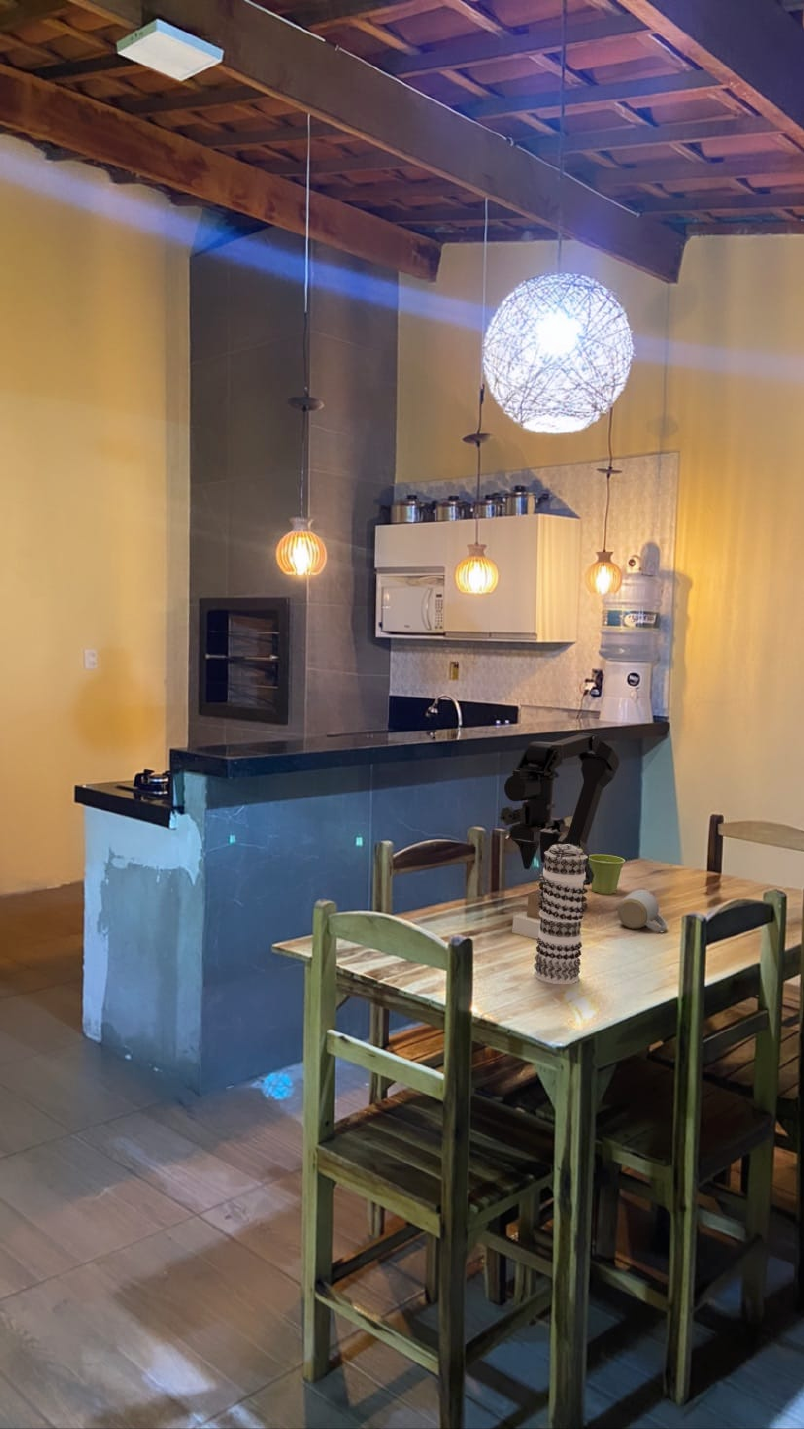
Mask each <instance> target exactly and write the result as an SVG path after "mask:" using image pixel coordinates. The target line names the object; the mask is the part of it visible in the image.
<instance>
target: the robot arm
mask: <svg viewBox="0 0 804 1429" xmlns="http://www.w3.org/2000/svg"><path fill="white" fill-rule="evenodd" d="M576 756H577V758H578V760H579V762H581V766H580V773H581V775H582V776H581V777H582V779H583V783H582V785H581V788H580V792H579V795H578V798H577V802H576V805H575V808H574V811H573V815H572V818H571V822H570V824H569V828H568V831H567V835H566V836H565V837H564V839H562V840H559V839H560V838H561V836H562V835H563V833H564V832H565V831H566V822H565V820H564V819H563V818H561V817H554V816H552V814H553V813H552V812H553V809H554V808H556V802H553V801H554V789H555V788H554V785H555V779H557V778H560V774H559V772H557V771H556V769H558V768H559V767H560V766H562V765H563V763H564V761H565V760H567V759H569V758H572V757H573V758H574V757H576ZM619 766H620V760H619V757H618V755H617V754H616V752H615V751H614V749H613V748H612V747H611V746H609V745H608V744H606V743H605V742H604V741H602V739H601V737H599V735H597V734H595V733H588V732H579V733H577V734H576V735H573V736H572V735H571V736H569V737H565V738H562V739H559V740H557V741H555V740H554V741H550V742H549V741H531V742H530V743H529V744H528V746H527V747H526V749H525V751H524V753H523V755H522V757H521V759H520V761H519V762H518V764H517V767H516V769H513V770H512V775H510V776H509V777H508V778H507V779H506V781H505V783H504V785H503V789H504V790H503V791H504V794H505V796H506V797H507V799H508V800H510V801H511V802H520V801H522V805H521V806H522V807H520V808H516V809H515V808H513V807H512V806H507V807H502V808H501V812H500V817H499V820H501V821H502V822H503V824H504V827H505V826H506V827H507V826H509V825H512V826H510V827H509V828H508V838H510V840H511V841H512V842H514V843H515V844H516V845H517V846H518V848H519V852H520V855H521V862H522V864H523V869H525V870H530V868H531V866H532V863H533V861H534V858H535V855H536V853H537V850H538V848H539V853H540V854H539V855H540V862H541V863H543V864H545V854H544V852H545V851H548V850H549V848H550V847H551V846H552V845H555V844H569V845H575V846H578V847H580V848H581V849H582V850H583V852H584V854H585V855H587V856H588V857H587V858H586V860H585V872H586V876H585V877H586V878H587V879H589V882H587V883H586V884H585V883H584V881H583V887H584V888H585V886H590V885H591V884H592V882H593V878H594V873H593V871H592V869H591V868H590V864H589V856H590V852H589V849H588V845H587V843H588V839H589V837H590V836H589V835H590V833H591V829H592V826H593V823H594V819H595V816H596V814H597V810H598V806H599V803H600V801H601V800H600V799H601V797H602V793H603V791H604V788H605V787H606V786H607V785H608V784H610V783H611V781H612V780H614V777H615V775H616V773H617V771H618V769H619ZM516 823H517V824H516ZM582 895H583V896H584V894H582ZM582 905H583V907H584V908H586V907H588V905H589V903H587V902H582Z"/></svg>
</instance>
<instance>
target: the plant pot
mask: <svg viewBox="0 0 804 1429" xmlns="http://www.w3.org/2000/svg"><path fill="white" fill-rule="evenodd" d="M625 863H626V860H625V859H624V858H622V857H619V856H615V855H609V854H591V855H590V854H589V861H588V864H589V866H590V868H591V869H592V871H593V873H594V878H593V882H592V883H591V891H592V892H594V893H596V892H597V893H598V894H601V895H612V894H616V893H617V888H618V884H619V880H620V875H621V873H622V872H621V871H622V868H623V866H624V864H625Z"/></svg>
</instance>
